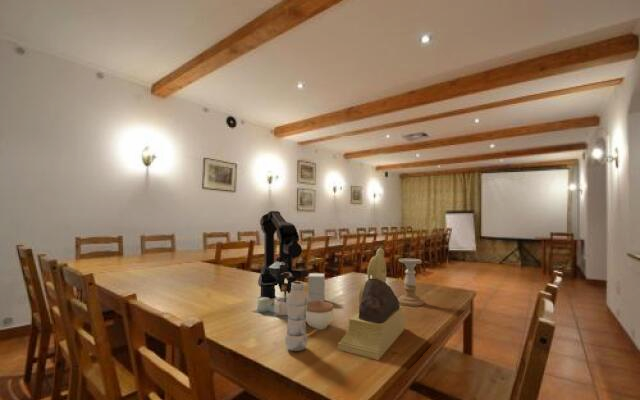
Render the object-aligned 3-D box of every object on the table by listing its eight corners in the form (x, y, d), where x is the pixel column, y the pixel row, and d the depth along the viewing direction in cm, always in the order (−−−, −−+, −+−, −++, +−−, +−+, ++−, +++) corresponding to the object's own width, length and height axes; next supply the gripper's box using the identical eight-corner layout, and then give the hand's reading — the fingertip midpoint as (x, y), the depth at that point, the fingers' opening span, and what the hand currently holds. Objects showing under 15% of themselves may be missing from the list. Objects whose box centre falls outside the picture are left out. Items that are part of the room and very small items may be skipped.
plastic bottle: (285, 345, 95) (286, 280, 96) (306, 344, 96) (307, 280, 97) (284, 354, 89) (286, 285, 90) (307, 354, 89) (308, 285, 90)
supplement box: (324, 299, 147) (325, 273, 147) (323, 304, 139) (323, 276, 140) (309, 299, 147) (310, 272, 148) (307, 303, 140) (308, 275, 141)
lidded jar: (311, 334, 104) (312, 306, 105) (299, 324, 114) (299, 298, 114) (338, 329, 109) (338, 302, 110) (324, 319, 119) (324, 295, 119)
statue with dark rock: (371, 322, 117) (371, 244, 118) (404, 329, 110) (404, 246, 112) (337, 349, 93) (338, 250, 94) (378, 360, 86) (378, 254, 88)
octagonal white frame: (268, 314, 123) (268, 301, 123) (282, 307, 131) (283, 296, 131) (284, 317, 118) (285, 304, 119) (299, 311, 127) (299, 299, 127)
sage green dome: (254, 311, 126) (255, 299, 126) (262, 308, 130) (263, 296, 130) (264, 313, 123) (264, 301, 123) (271, 310, 127) (272, 298, 128)
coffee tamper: (275, 307, 124) (275, 284, 125) (283, 303, 129) (284, 281, 130) (286, 309, 121) (286, 285, 122) (294, 305, 126) (295, 283, 127)
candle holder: (427, 306, 138) (427, 261, 139) (400, 306, 138) (400, 261, 139) (419, 299, 150) (419, 258, 151) (394, 298, 150) (394, 257, 151)
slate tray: (251, 313, 125) (251, 311, 125) (275, 303, 139) (275, 302, 139) (295, 323, 114) (295, 321, 114) (316, 311, 128) (316, 310, 128)
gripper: (255, 254, 124) (254, 293, 123) (293, 258, 115) (292, 300, 114) (273, 252, 134) (272, 288, 133) (308, 255, 124) (308, 294, 124)
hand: (285, 292), depth 126 cm, fingers closed on coffee tamper, 3 cm apart
